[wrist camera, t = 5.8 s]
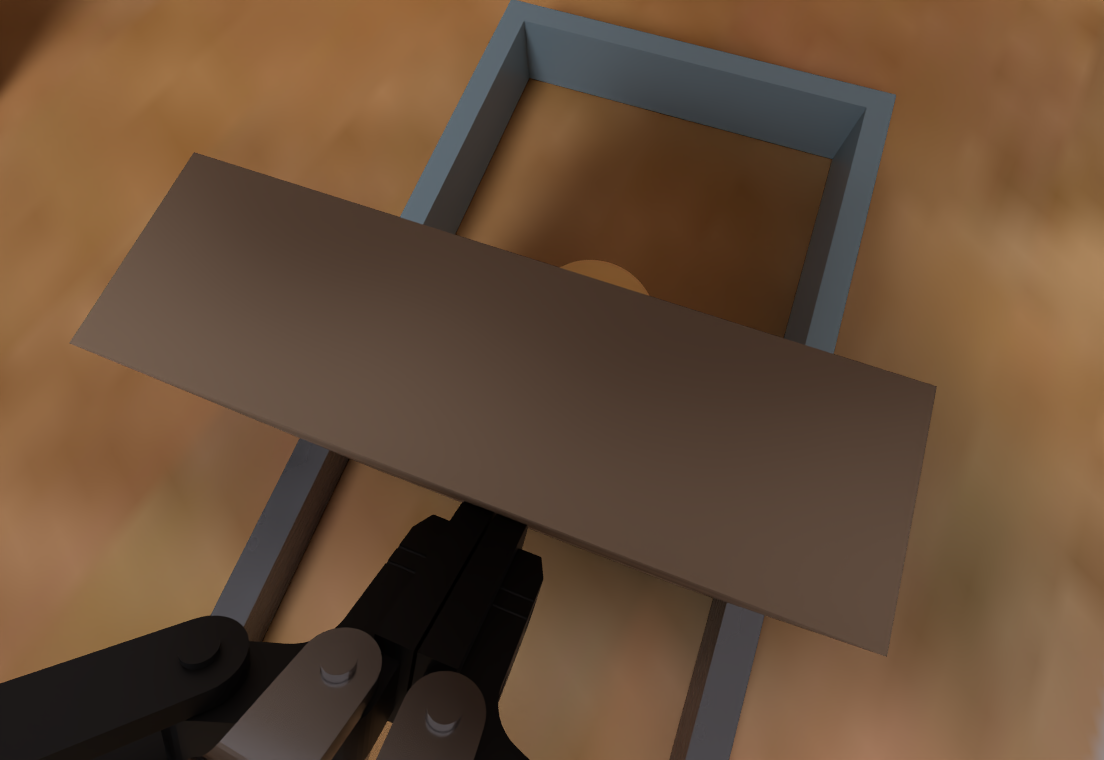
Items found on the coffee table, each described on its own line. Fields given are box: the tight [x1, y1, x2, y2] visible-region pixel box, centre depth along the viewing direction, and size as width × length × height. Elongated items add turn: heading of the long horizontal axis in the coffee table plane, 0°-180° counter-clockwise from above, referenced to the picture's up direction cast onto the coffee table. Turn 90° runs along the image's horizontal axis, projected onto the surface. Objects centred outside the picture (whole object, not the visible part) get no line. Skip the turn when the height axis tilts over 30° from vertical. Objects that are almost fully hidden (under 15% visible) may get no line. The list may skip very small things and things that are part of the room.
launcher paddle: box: [70, 152, 937, 657], centre depth 12 cm, size 3×10×11 cm, turn 70°
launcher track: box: [211, 438, 764, 760], centre depth 16 cm, size 16×14×2 cm
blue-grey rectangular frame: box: [400, 0, 896, 354], centre depth 19 cm, size 11×14×2 cm
